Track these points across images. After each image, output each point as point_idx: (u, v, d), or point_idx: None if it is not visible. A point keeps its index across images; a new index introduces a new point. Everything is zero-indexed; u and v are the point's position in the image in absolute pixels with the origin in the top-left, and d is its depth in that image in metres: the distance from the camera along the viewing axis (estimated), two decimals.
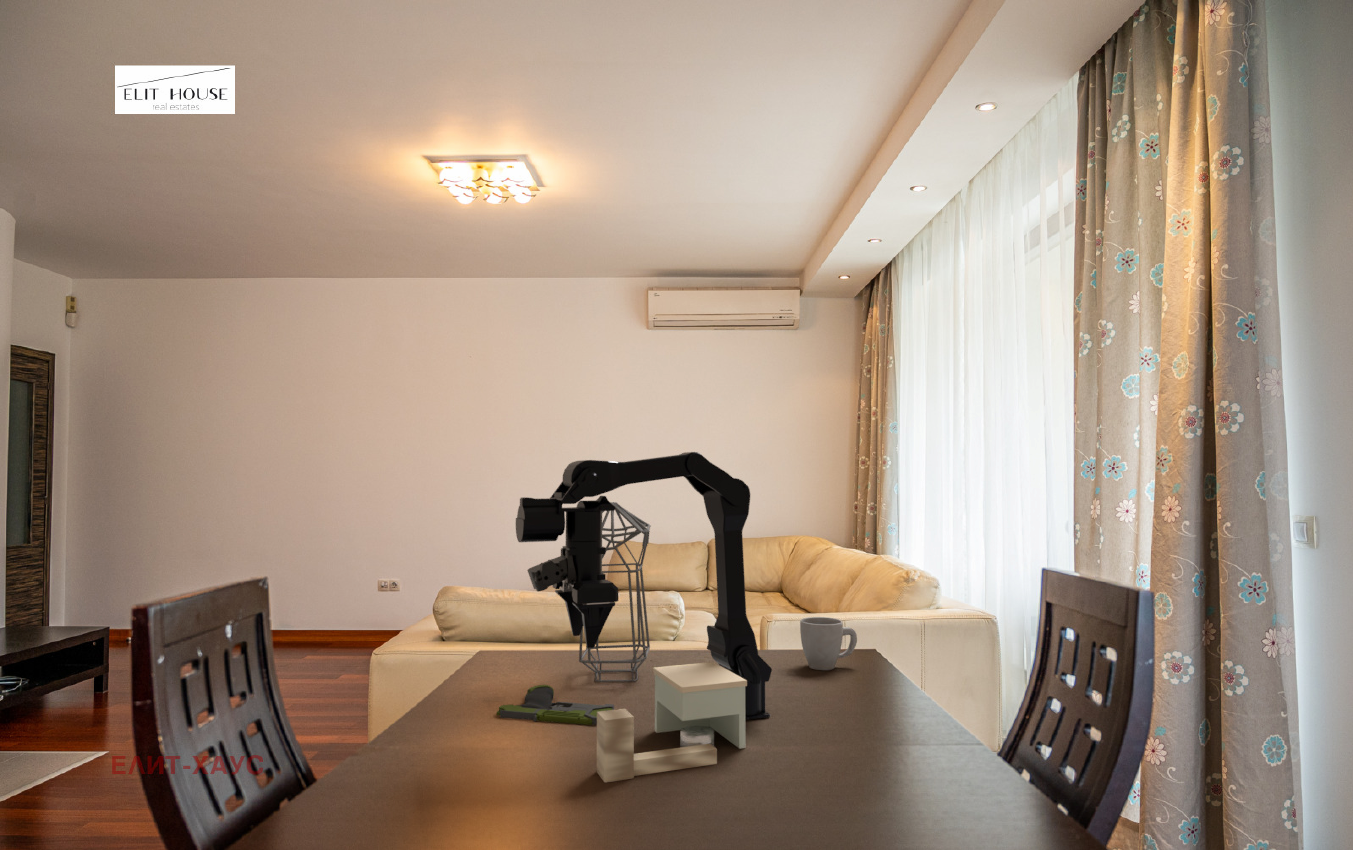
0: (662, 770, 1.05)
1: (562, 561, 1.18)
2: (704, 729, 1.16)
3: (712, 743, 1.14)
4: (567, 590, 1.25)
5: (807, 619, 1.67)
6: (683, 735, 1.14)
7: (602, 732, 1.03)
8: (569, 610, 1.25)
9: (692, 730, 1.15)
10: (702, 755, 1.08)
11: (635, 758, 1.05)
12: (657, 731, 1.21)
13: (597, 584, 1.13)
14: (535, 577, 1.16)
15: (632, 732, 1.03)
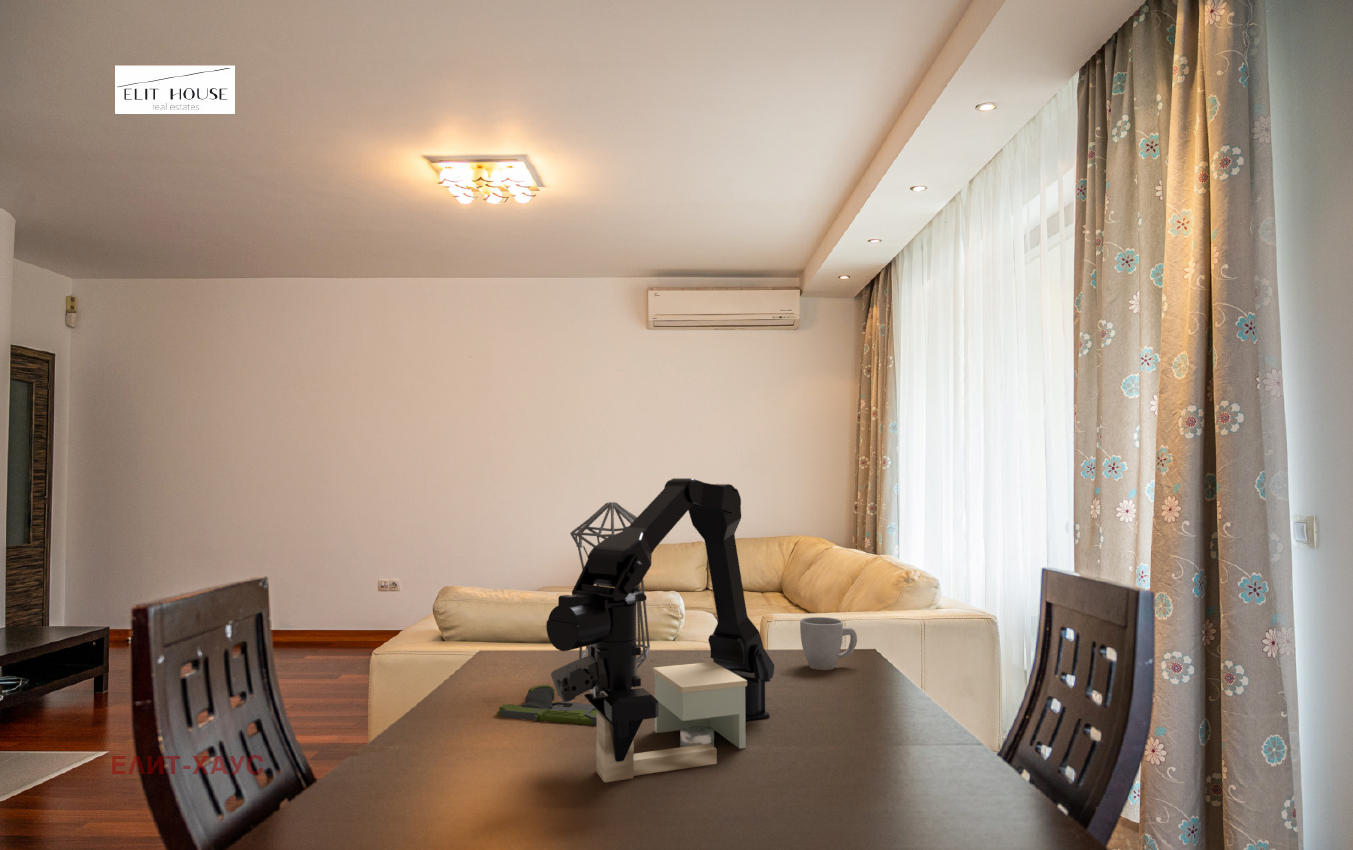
0: (662, 770, 1.05)
1: (592, 665, 1.02)
2: (704, 729, 1.16)
3: (712, 743, 1.14)
4: (599, 696, 1.07)
5: (807, 619, 1.67)
6: (683, 735, 1.14)
7: (602, 732, 1.03)
8: None
9: (692, 730, 1.15)
10: (702, 755, 1.08)
11: (635, 758, 1.05)
12: (657, 731, 1.21)
13: (634, 698, 0.97)
14: (561, 686, 1.00)
15: None
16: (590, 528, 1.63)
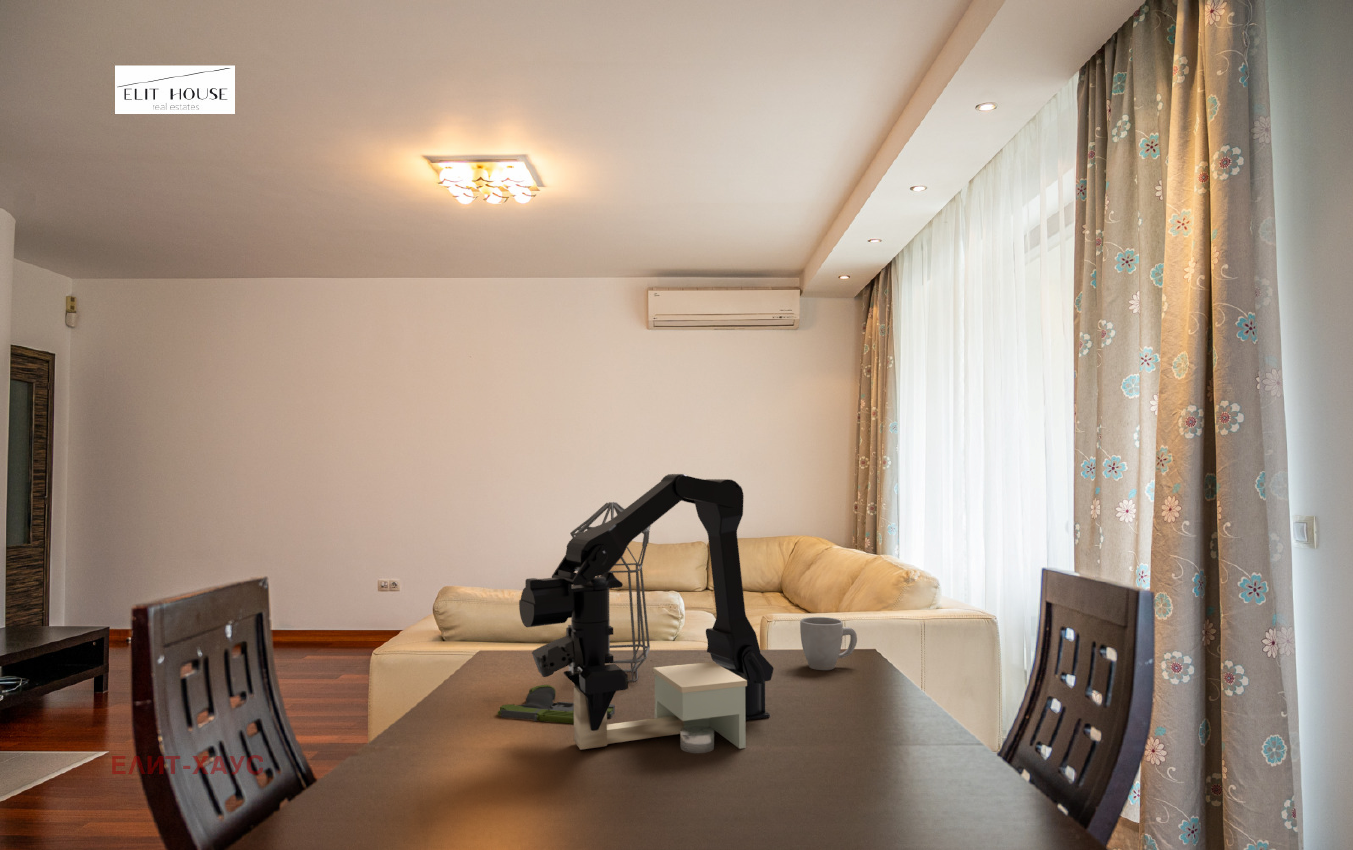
0: (633, 739, 1.16)
1: (568, 644, 1.13)
2: (704, 729, 1.16)
3: (712, 743, 1.14)
4: (577, 672, 1.18)
5: (807, 619, 1.67)
6: (683, 735, 1.14)
7: (578, 704, 1.14)
8: None
9: (692, 730, 1.15)
10: (670, 725, 1.19)
11: (608, 728, 1.16)
12: None
13: (606, 672, 1.08)
14: (540, 663, 1.11)
15: None
16: None
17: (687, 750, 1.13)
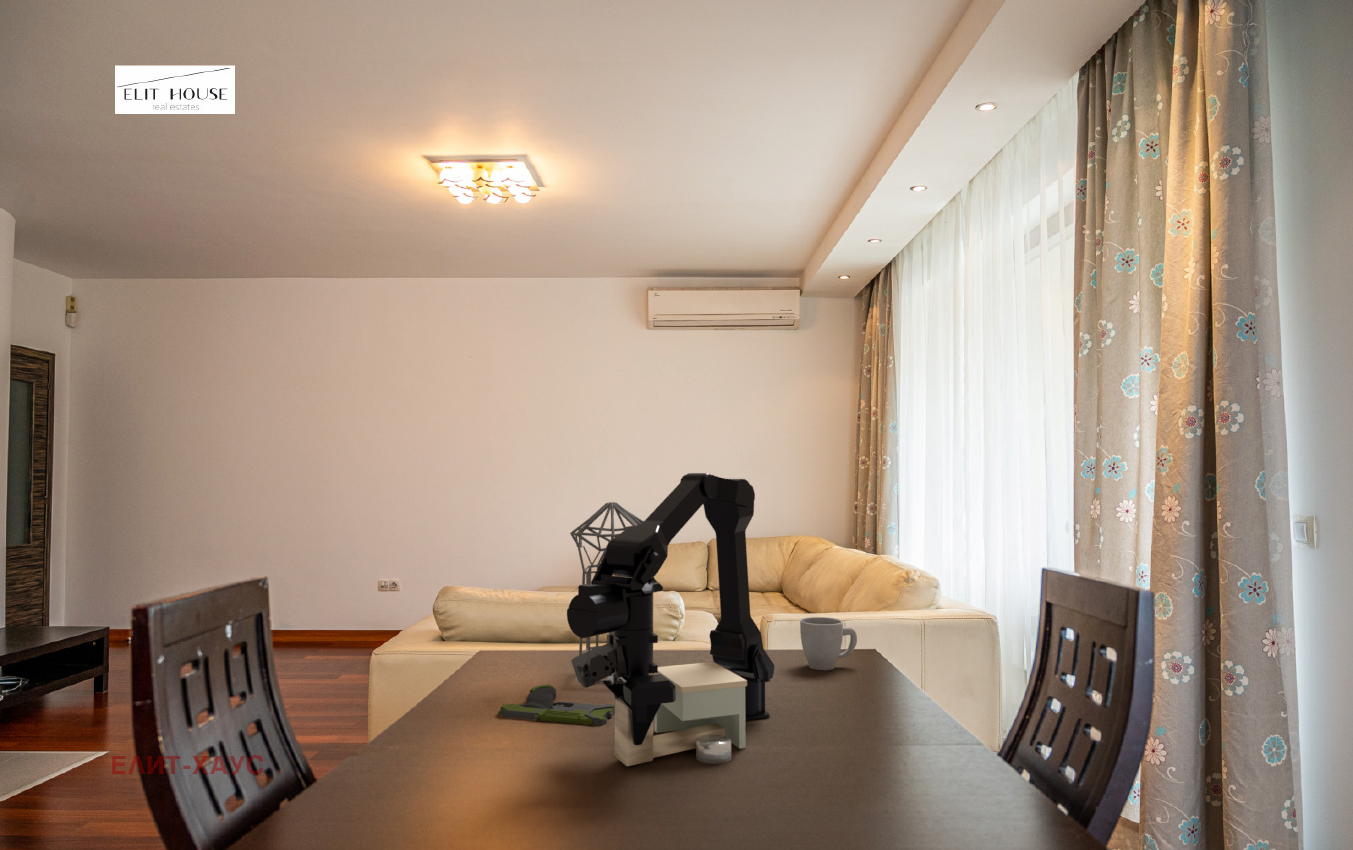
0: (677, 751, 1.11)
1: (611, 652, 1.06)
2: (721, 739, 1.12)
3: (730, 753, 1.10)
4: (617, 682, 1.12)
5: (807, 619, 1.67)
6: (700, 745, 1.10)
7: (623, 718, 1.07)
8: None
9: (708, 740, 1.11)
10: None
11: (652, 741, 1.10)
12: (657, 731, 1.21)
13: (653, 683, 1.01)
14: (582, 672, 1.04)
15: None
16: (590, 528, 1.63)
17: (705, 761, 1.09)
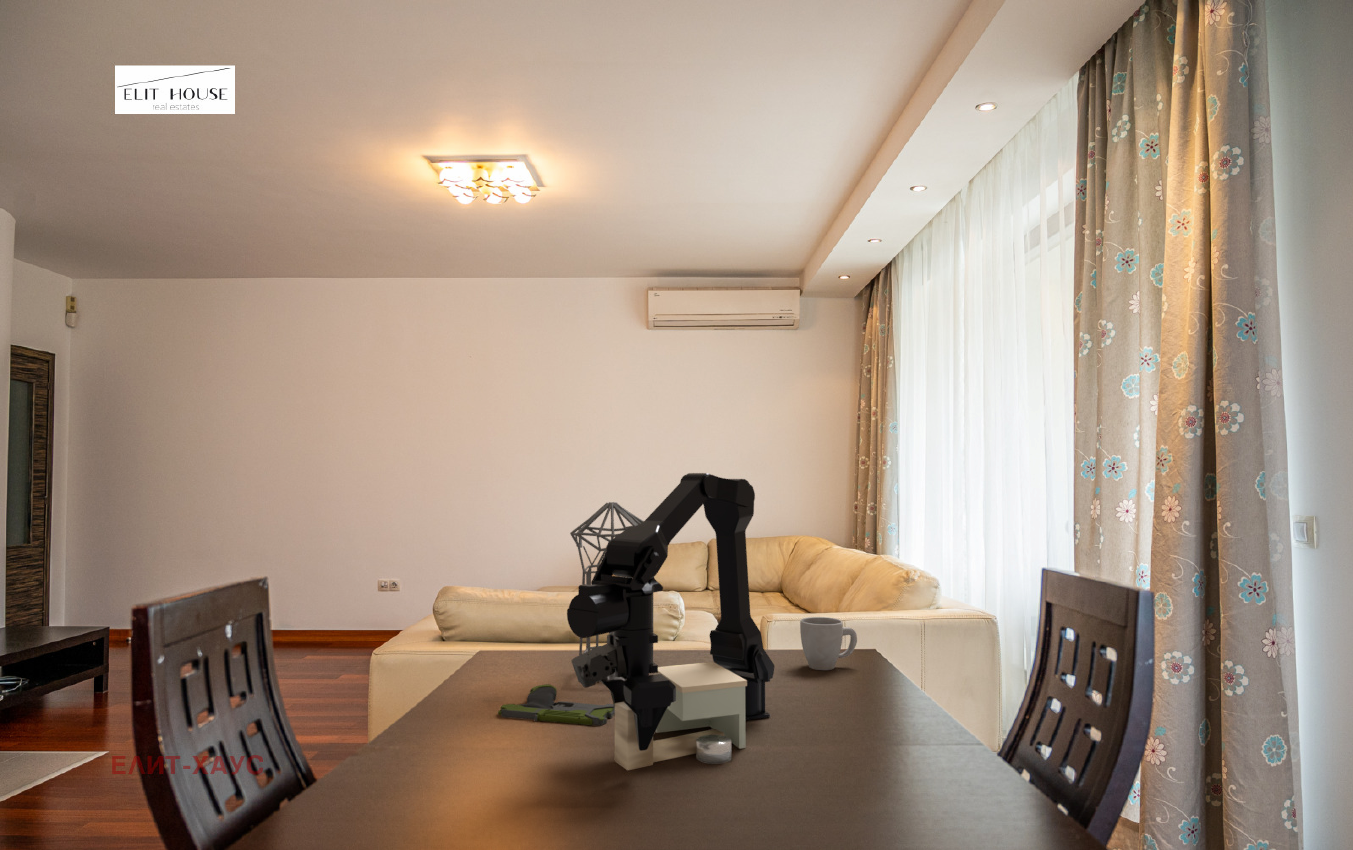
0: (677, 756, 1.11)
1: (611, 652, 1.06)
2: (721, 739, 1.12)
3: (730, 753, 1.10)
4: (613, 678, 1.14)
5: (807, 619, 1.67)
6: (700, 745, 1.10)
7: (623, 722, 1.07)
8: (615, 701, 1.13)
9: (708, 740, 1.11)
10: None
11: (652, 745, 1.10)
12: (657, 731, 1.21)
13: (653, 683, 1.01)
14: (582, 672, 1.04)
15: None
16: (590, 528, 1.63)
17: (705, 761, 1.09)
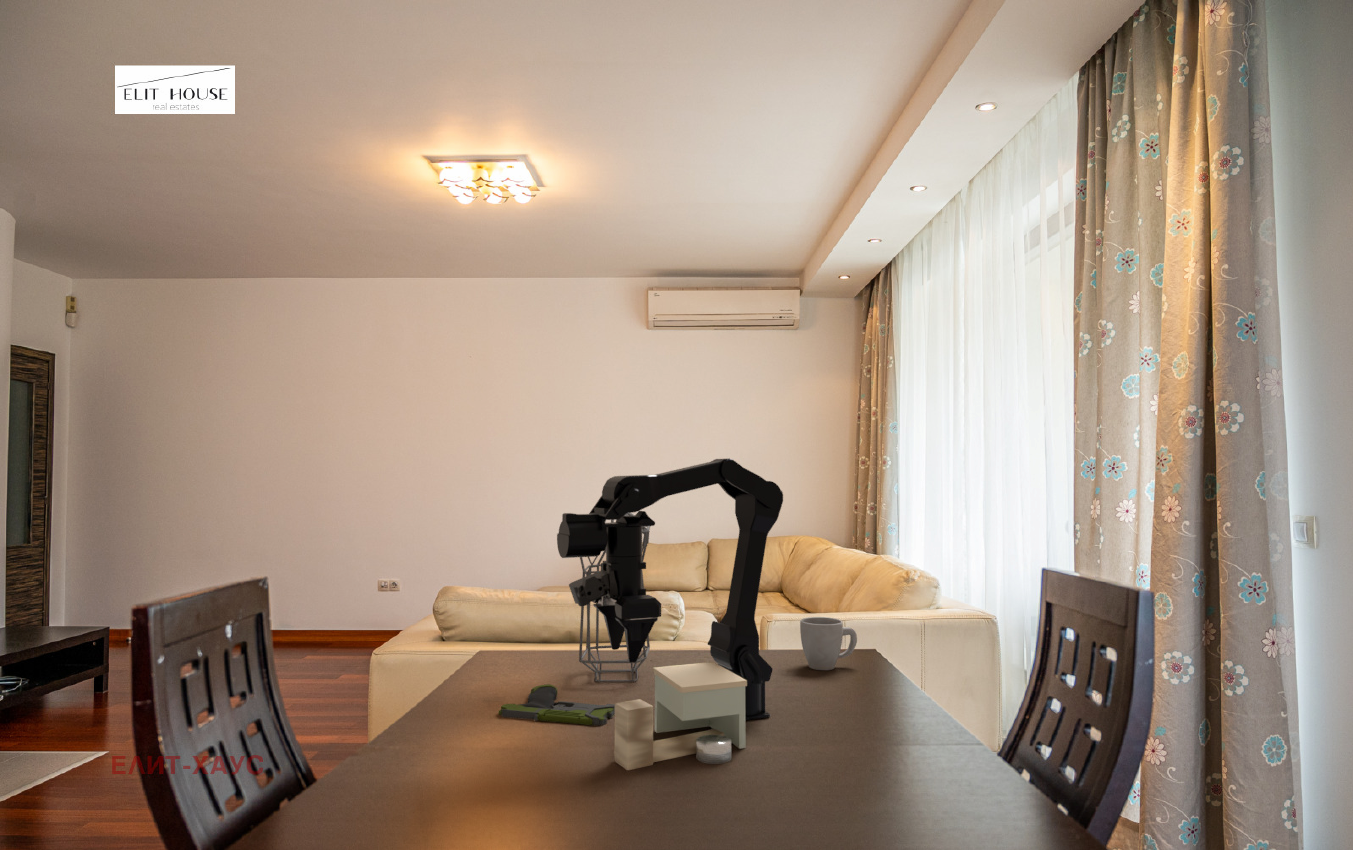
0: (677, 756, 1.11)
1: (604, 576, 1.19)
2: (721, 739, 1.12)
3: (730, 753, 1.10)
4: (606, 604, 1.27)
5: (807, 619, 1.67)
6: (700, 745, 1.10)
7: (623, 722, 1.07)
8: (608, 624, 1.26)
9: (708, 740, 1.11)
10: None
11: (652, 745, 1.10)
12: (657, 731, 1.21)
13: (641, 600, 1.14)
14: (578, 592, 1.17)
15: (651, 721, 1.08)
16: None
17: (705, 761, 1.09)
